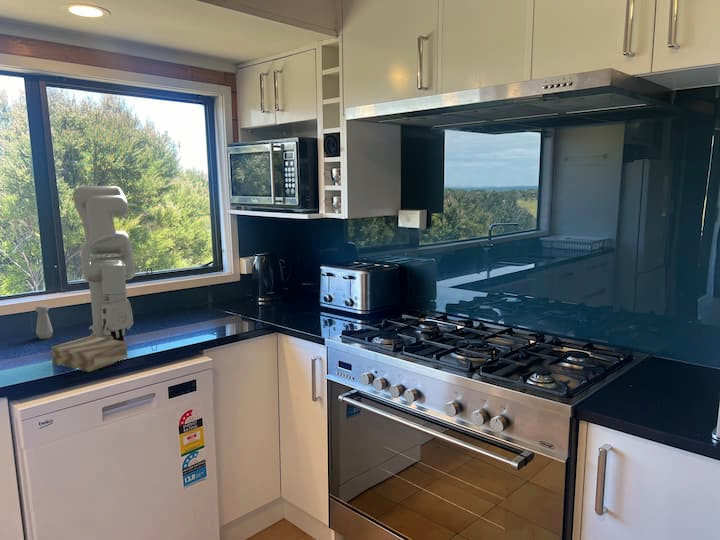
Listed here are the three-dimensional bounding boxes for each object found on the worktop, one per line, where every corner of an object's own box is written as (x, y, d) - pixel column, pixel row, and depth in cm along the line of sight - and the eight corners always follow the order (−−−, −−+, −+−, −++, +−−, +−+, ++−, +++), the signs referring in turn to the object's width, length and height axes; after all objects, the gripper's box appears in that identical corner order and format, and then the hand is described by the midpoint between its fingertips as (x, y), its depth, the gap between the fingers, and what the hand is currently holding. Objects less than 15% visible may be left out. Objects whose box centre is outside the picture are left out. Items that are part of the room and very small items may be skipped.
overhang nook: (53, 363, 181) (51, 346, 180) (92, 351, 194) (91, 335, 193) (88, 371, 173) (87, 354, 172) (127, 358, 186) (126, 341, 185)
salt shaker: (38, 336, 214) (35, 304, 211) (54, 335, 216) (51, 303, 213) (35, 340, 208) (31, 307, 206) (51, 338, 210) (48, 306, 208)
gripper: (104, 302, 182) (108, 354, 185) (139, 294, 195) (143, 343, 198) (89, 300, 185) (93, 351, 188) (125, 293, 199) (128, 340, 201)
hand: (119, 347), depth 193 cm, fingers closed
